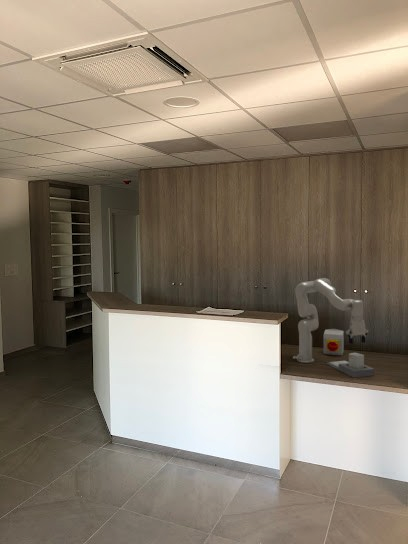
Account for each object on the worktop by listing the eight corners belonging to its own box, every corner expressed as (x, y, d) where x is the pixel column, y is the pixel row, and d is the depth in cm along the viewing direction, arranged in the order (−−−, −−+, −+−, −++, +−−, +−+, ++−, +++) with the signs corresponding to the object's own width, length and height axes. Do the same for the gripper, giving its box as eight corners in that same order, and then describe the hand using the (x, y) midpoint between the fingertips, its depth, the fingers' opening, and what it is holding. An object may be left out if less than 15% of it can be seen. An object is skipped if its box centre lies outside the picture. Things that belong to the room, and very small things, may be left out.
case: (353, 377, 301) (353, 371, 301) (326, 364, 333) (326, 358, 333) (374, 375, 305) (374, 368, 305) (345, 362, 338) (345, 356, 338)
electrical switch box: (322, 358, 358) (322, 334, 354) (325, 351, 371) (325, 328, 367) (341, 360, 352) (341, 335, 348) (343, 352, 366) (343, 329, 362)
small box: (364, 373, 310) (364, 354, 309) (357, 375, 307) (357, 356, 306) (354, 370, 317) (354, 352, 316) (348, 372, 314) (348, 353, 313)
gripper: (349, 319, 303) (349, 345, 304) (371, 318, 308) (371, 343, 309) (342, 318, 310) (342, 342, 311) (364, 316, 315) (364, 340, 316)
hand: (357, 342), depth 310 cm, fingers open, 9 cm apart
